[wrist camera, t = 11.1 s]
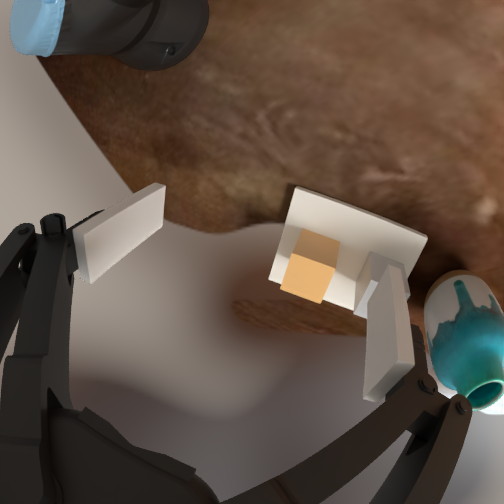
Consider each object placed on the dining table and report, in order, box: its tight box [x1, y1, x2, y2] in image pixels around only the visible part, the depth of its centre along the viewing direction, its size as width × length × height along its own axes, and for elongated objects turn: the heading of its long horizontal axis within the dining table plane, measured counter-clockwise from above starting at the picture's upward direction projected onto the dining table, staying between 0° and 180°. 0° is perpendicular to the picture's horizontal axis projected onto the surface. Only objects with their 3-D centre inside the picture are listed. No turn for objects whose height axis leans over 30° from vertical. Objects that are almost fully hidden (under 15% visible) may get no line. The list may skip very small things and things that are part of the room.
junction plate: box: [269, 186, 428, 319], centre depth 35 cm, size 18×14×8 cm
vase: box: [424, 270, 504, 411], centre depth 27 cm, size 11×11×19 cm
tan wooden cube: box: [280, 228, 340, 304], centre depth 35 cm, size 5×5×7 cm
